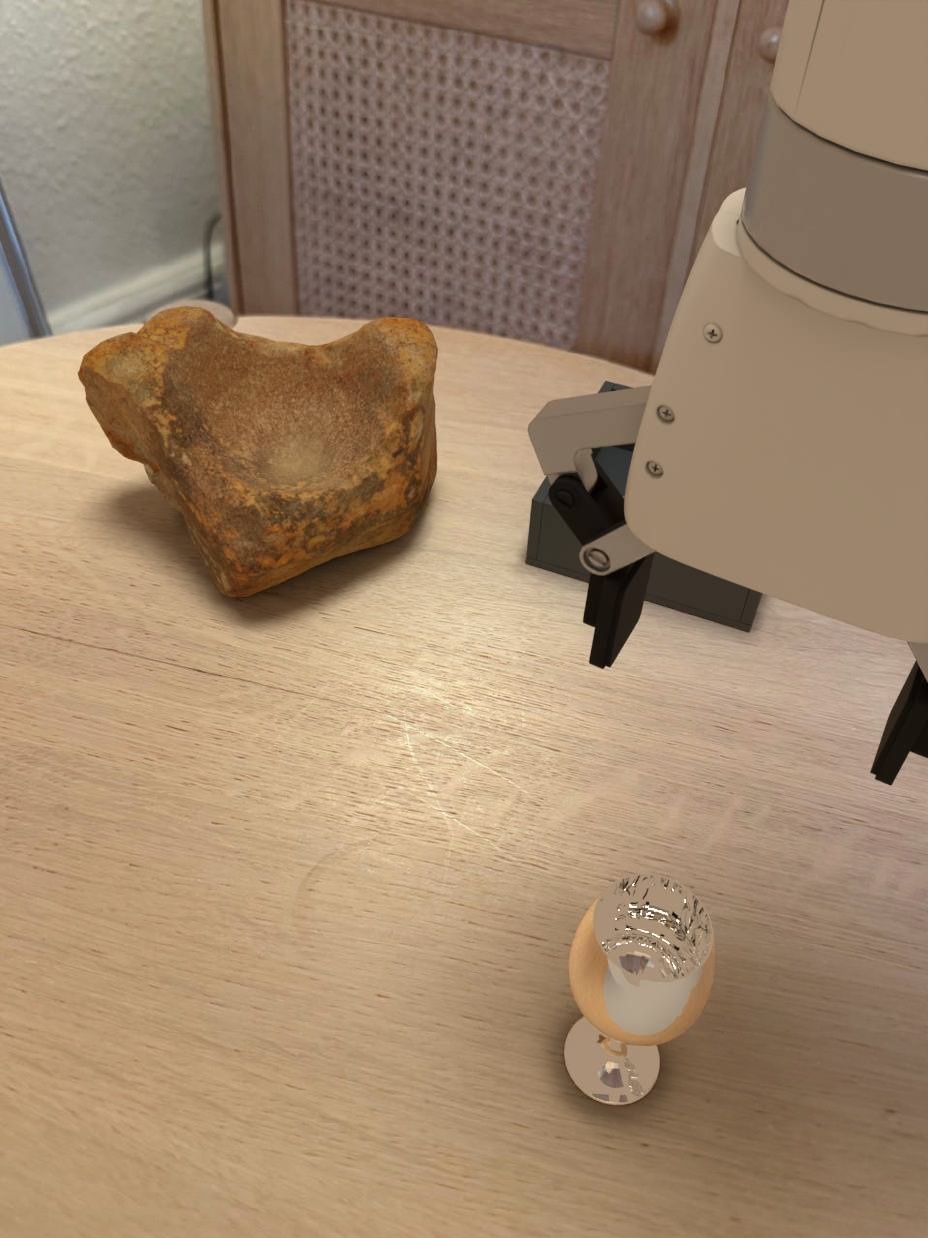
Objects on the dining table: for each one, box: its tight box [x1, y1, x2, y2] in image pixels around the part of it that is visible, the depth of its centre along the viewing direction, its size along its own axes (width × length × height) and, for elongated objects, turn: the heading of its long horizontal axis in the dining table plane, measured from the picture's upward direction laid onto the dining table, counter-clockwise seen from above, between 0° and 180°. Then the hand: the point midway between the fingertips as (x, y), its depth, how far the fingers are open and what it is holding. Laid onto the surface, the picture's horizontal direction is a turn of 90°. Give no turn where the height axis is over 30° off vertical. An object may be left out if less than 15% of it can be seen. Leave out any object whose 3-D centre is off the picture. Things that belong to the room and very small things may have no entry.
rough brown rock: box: [77, 305, 439, 598], centre depth 70 cm, size 23×17×15 cm
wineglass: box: [563, 873, 716, 1106], centre depth 46 cm, size 6×6×12 cm
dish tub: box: [525, 380, 764, 633], centre depth 75 cm, size 16×16×6 cm
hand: (746, 694), depth 36 cm, fingers open, 9 cm apart
